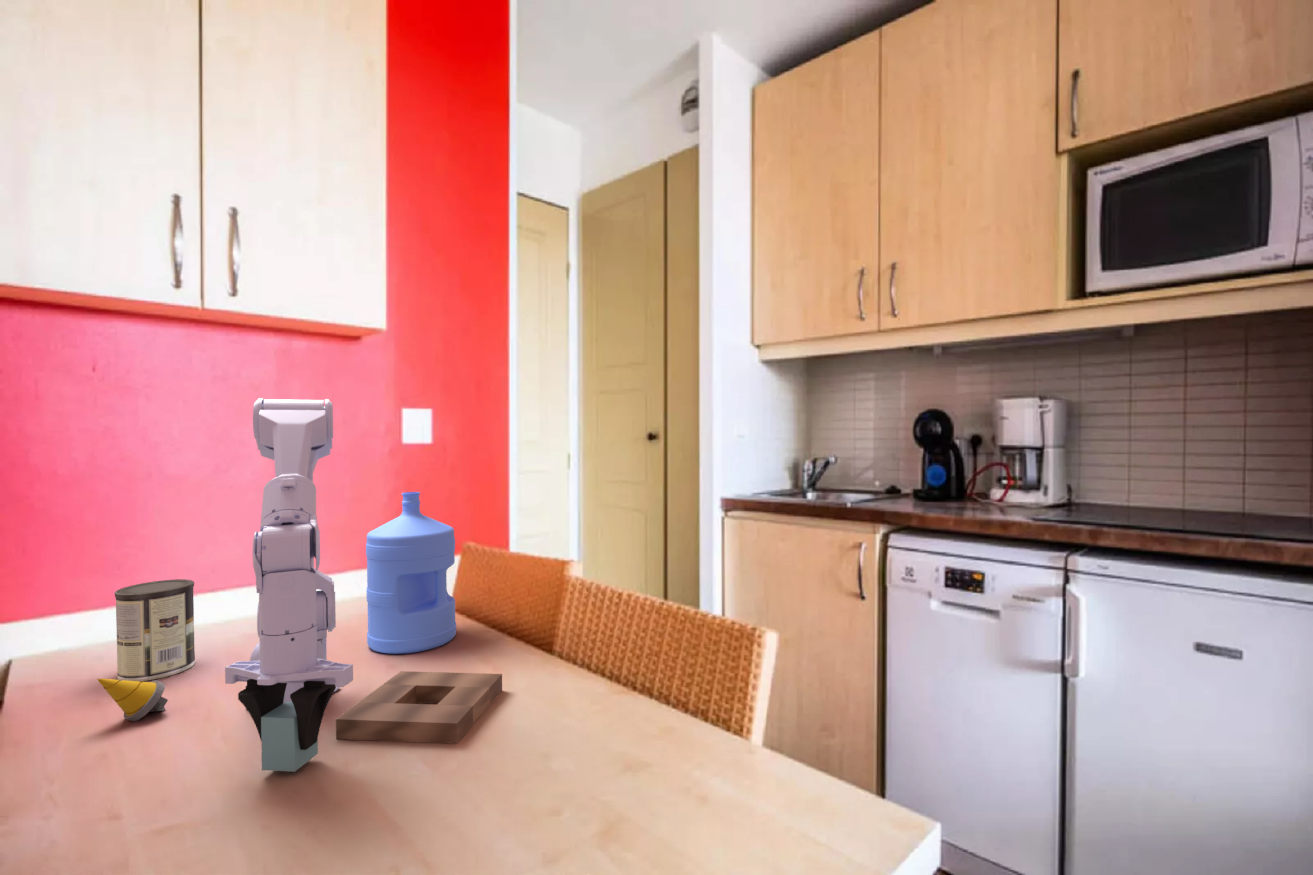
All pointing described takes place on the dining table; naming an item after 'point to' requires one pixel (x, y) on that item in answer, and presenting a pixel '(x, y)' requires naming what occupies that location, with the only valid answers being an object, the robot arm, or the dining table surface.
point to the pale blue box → (283, 740)
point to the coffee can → (155, 629)
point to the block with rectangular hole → (421, 707)
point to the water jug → (409, 582)
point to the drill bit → (136, 696)
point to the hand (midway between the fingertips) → (290, 744)
